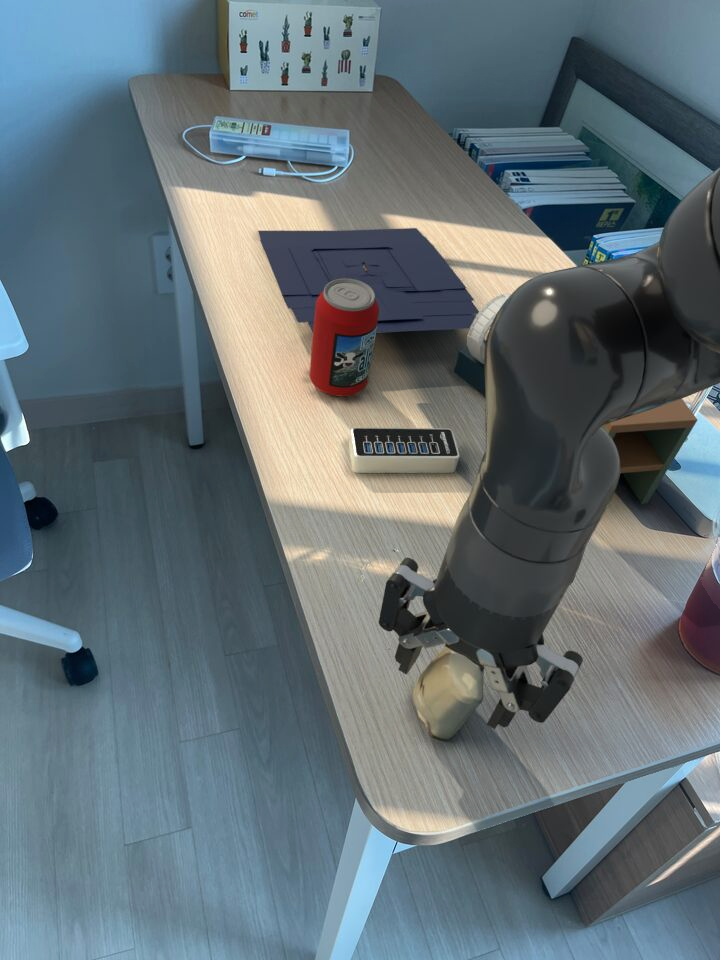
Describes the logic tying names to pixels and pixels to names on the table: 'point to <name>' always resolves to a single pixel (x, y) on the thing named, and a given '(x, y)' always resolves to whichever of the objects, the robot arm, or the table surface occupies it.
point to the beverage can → (343, 337)
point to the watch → (478, 345)
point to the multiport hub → (403, 450)
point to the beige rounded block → (448, 693)
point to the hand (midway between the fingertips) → (451, 690)
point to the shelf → (650, 444)
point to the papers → (371, 275)
